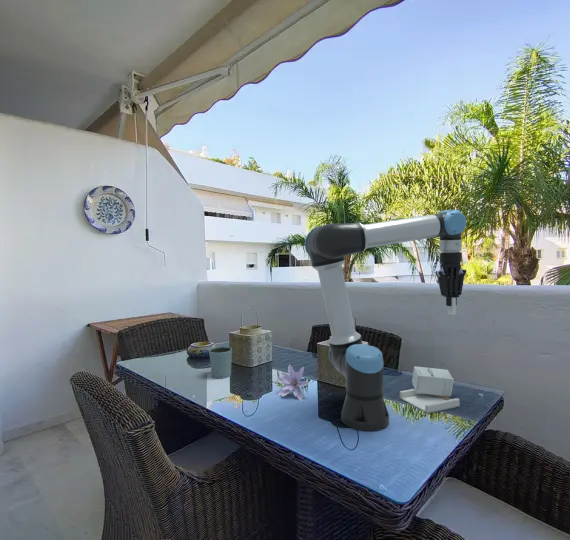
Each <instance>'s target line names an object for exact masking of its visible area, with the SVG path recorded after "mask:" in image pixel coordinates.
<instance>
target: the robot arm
mask: <svg viewBox="0 0 570 540" xmlns="http://www.w3.org/2000/svg"><path fill="white" fill-rule="evenodd" d="M466 227H467V219H466V215H465V214H463V213H462V212H461V210H459V209H448V210H440V211H439V213H435V214H428V215H422V216H421V215H418V216H413V217H407V218H401V219H393V220H392V219H391V220H387V221H380V222H373V223H367V224H362V223H361V222H353V223H352V222H350V223H327V224H324V225H318V226H315V227H314V228H312V229H311V230H310V231H309V232H308V233H307V235H306V236H305V238H304V248H305V251H306V253H307V255H308V256H310V262H311V266H312V268H313V269H314V270H316V271H317V273H318V278H319V282H320V288H321V292H322V297H323V301H324V306H325V310H326V315H327V320H328V325H329V329H330V333H331V336H330V338H329V339H328V344H329V349H328V359H329V362H330V363H331V366H333V368H334V369H335V370H336V371H337V372H339V373H340V374H341V375H342V376H344V378H345V386H346V388H345V389H346V392H345V394H346V396H345V399H344V402H343V405H342V408H341V412H340V416H341V417H340V418H341V419H340V420H341V421H342V423H343V424H344V425H345V426H347V427H349V428H351V429H354V430H358V431H363V432H364V431H365V432H372V431H373V432H374V431H380V430H384V429H386V428H387V427H388V426H389V424H390V414H389V412H388V408H387V405H386V401H385V398H384V365H385V364H384V357H383V352H382V351H381V350H380V349H379V348H378V347H376V346H373V345H370V344H365V343H363V339H362V335H361V334H360V333H359V332H357V331H356V327H355V322H354V317H353V313H352V308H351V304H350V298H349V294H348V290H347V289H348V288H347V285H346V279H345V275H344V270H343V264H344V263H345V262H346V258H345V257H346V256H352V255H355V254H359V253H364V252H365V251H366V249H370V248H377V247H382V246H388V245H393V244H394V245H395V244H400V243H407V242H413V241H419V240H424V239H425V240H426V239H432V238H439V252H440V253H439V262H440V263H441V264H440V269H439V270H436V271H434V273H435V275H436V277H437V281H438V287H439V290H440V295H441V296H442V297H444V298H445V302H446V303H445V305H446V307H447V309H446V310H447V311H446V312H447V315H450V316H456V315H457V305H458V303H457V302H458V298H460V296H461V295H462V293H463V287H464V282H465V275H466V274H467V269H464V268H462V264H461V263H462V262H463V253H462V250H463V249H462V233H463V232H464V230H465V229H466Z"/></svg>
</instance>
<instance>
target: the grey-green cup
mask: <svg viewBox="0 0 570 540" xmlns="http://www.w3.org/2000/svg"><path fill="white" fill-rule="evenodd" d="M232 351H233V349H232V347H229V346H216V347H212V348H210V349H209V350H208V353H209V360H210V361H209V362H210V372H211V377H212V379H215V380H217V379H218V380H221V379H222V380H223V379H227V378H230V377H231V376H232V355H233V352H232Z"/></svg>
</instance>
